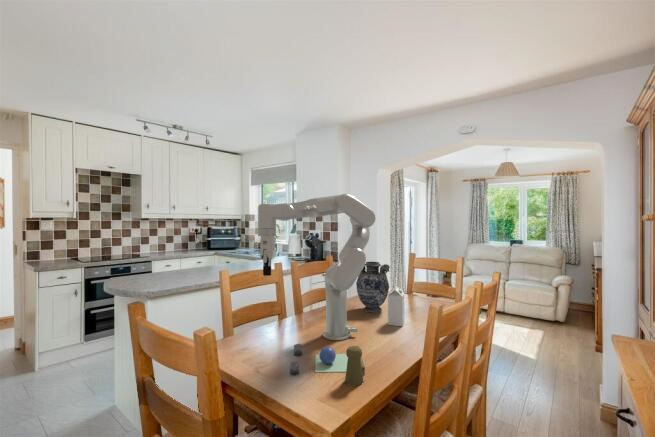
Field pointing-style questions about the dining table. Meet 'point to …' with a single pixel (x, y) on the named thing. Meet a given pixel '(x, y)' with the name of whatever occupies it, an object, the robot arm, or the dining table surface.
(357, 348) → the olive knobbed tapered cylinder
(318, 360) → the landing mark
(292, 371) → the post
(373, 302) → the decorative vase
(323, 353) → the ball
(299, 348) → the post
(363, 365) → the stopper strip
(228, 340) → the dining table surface
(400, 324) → the milk carton
